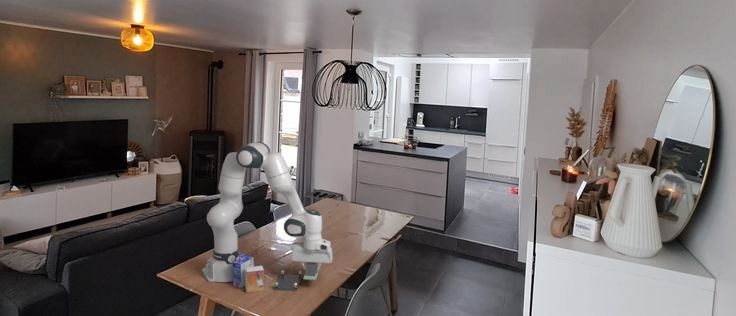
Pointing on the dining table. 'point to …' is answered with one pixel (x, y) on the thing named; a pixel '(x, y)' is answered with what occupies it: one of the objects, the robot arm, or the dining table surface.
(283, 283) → the chassis plate
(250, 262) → the ink cartridge box
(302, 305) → the dining table surface
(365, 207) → the dining table surface
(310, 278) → the circuit board
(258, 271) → the small box
